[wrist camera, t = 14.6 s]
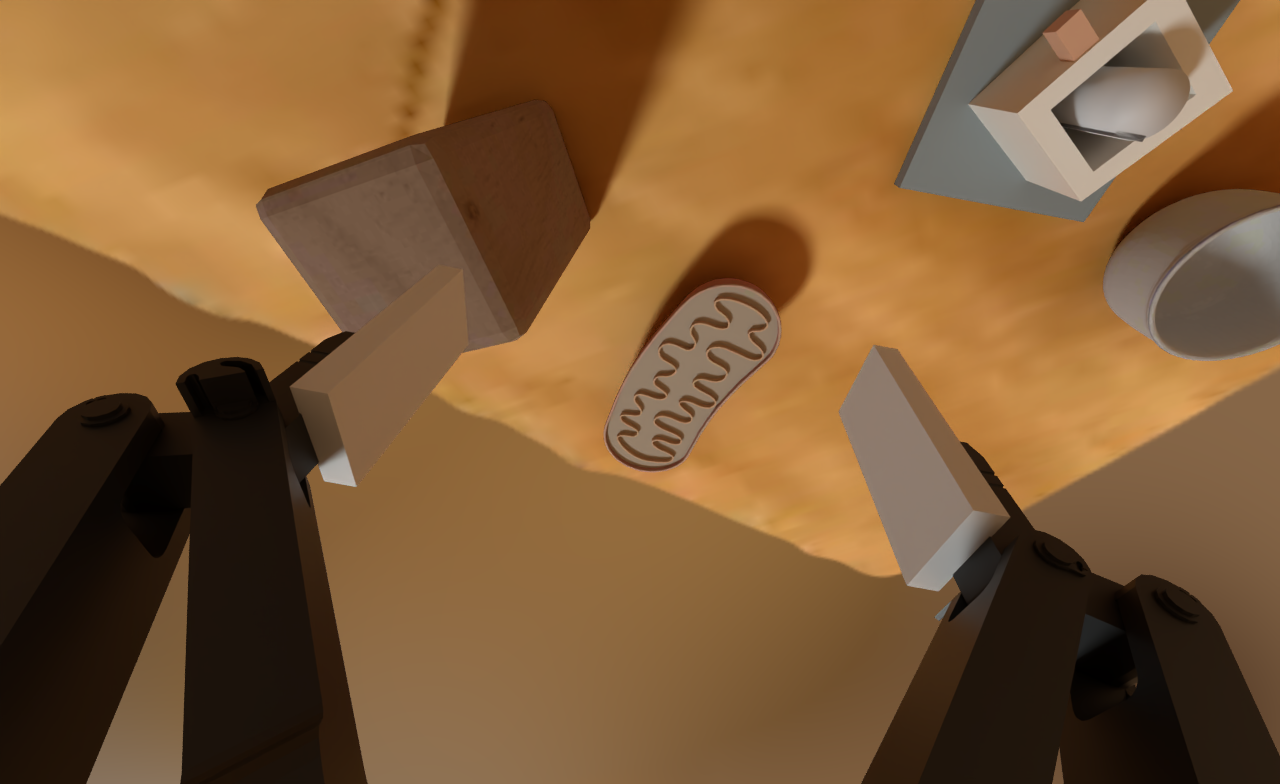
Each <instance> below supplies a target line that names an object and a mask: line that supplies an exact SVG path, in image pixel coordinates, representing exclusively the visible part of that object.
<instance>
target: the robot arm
mask: <svg viewBox="0 0 1280 784" xmlns="http://www.w3.org/2000/svg"><path fill="white" fill-rule="evenodd" d="M468 345H469V343H468V331H467V318H466V305H465V293H464V280H463V269H458V268H453V267H447V266H442V265H438V266H437V267H435V268H434V269H433V270H432V271H430V272H429V273H428V274H427V275H426V276H424V277H423V278H422V279H421V280H419V281H418V282H417V283H416V284H415V285H413V286H412V287H411V288H410V289H408V290H407V291H406V292H405V293H404V294H402V295H401V296H400V297H399V298H397V299H396V300H395V301H394V302H393V303H391V304H390V305H389V306H388V307H386V308H385V309H384V310H383V311H382V312H380V313H379V314H378V315H377V316H375V317H374V318H373V319H372V320H371V321H369V322H368V323H367V324H366V325H364V326H363V327H362V328H361V329H360V330H358V331H357V332H356V333H354V332H349V331H345V332H342V333H340V334H337V335H335V336H332V337H330V338H327V339H325V340H324V341H323V342H321V343H320V344H319V345H317V346H316V347H315V348H313V349H312V350H311V353H310V352H309V353H307V354H306V355H305V356H303V357H302V358H301V359H300V361H299V362H295V363H294V364H293V365H291V366H290V367H289V368H288V369H286V370H285V371H284V372H282V373H281V374H280V375H278V376H277V377H276V378H274V379H273V380H272V381H271V382H269V381H268V379H267V376H266V374H265V371H264V369H263V367H262V365H261V364H260V363H259V362H257V361H255V360H252V359H248V358H240V357H231V358H220V359H216V360H212V361H207V362H204V363H201V364H199V365H197V366H195V367H192V368H190V369H188V370H187V371H186V372H184V373H183V374H182V375H180V376H179V378H178V380H177V382H176V386H177V388H178V390H179V391H180V393H181V395H182V397H183V399H184V400H185V402H186V404H187V406H188V408H189V410H190V412H180V413H158V412H157V410H156V409H155V407H154V406H153V404H152V402H151V401H150V400H149V399H148V398H147V397H146V396H142V395H139V394H131V393H129V394H128V393H119V394H113V395H104V396H100V397H96V398H94V399H90V400H87V401H84V402H82V403H80V404H78V405H76V406H74V407H72V408H70V409H68V410H67V411H65V413H63V414H62V415H61V416H60V417H58V418H57V419H56V420H55V421H54V423H53V424H52V425H51V426H50V427H49V429H48V430H47V431H46V432H45V433H44V434H43V436H42V437H41V438H40V439H39V440H38V441H37V443H36V444H35V445H34V446H33V447H32V449H31V450H30V451H29V452H28V453H27V455H26V456H25V457H24V458H23V459H22V460H21V462H20V463H19V464H18V465H17V466H16V468H15V469H14V470H13V471H12V472H11V474H10V475H9V476H8V477H7V478H6V479H5V481H4V482H3V483H2V484H1V486H0V784H86V783H87V780H88V778H89V776H90V773H91V771H92V768H93V766H94V763H95V761H96V759H97V756H98V754H99V751H100V749H101V747H102V744H103V742H104V739H105V737H106V735H107V732H108V729H109V727H110V725H111V722H112V720H113V718H114V715H115V713H116V710H117V708H118V706H119V703H120V701H121V698H122V696H123V693H124V691H125V688H126V686H127V684H128V681H129V679H130V677H131V674H132V672H133V669H134V667H135V664H136V662H137V660H138V657H139V655H140V652H141V650H142V647H143V645H144V643H145V640H146V638H147V635H148V633H149V631H150V628H151V626H152V623H153V621H154V619H155V616H156V613H157V611H158V609H159V606H160V604H161V602H162V599H163V597H164V594H165V592H166V590H167V587H168V585H169V582H170V580H171V577H172V575H173V572H174V570H175V568H176V565H177V563H178V561H179V558H180V556H181V553H182V551H183V548H184V546H185V544H186V541H187V539H188V536H189V534H190V545H189V546H190V547H189V575H188V605H187V634H186V666H185V693H184V724H183V752H182V755H183V756H182V775H181V783H180V784H368V783H367V780H366V775H365V771H364V766H363V761H362V755H361V750H360V745H359V739H358V734H357V729H356V724H355V718H354V713H353V708H352V703H351V698H350V693H349V688H348V683H347V677H346V672H345V666H344V661H343V656H342V651H341V645H340V641H339V635H338V630H337V625H336V619H335V614H334V609H333V604H332V599H331V593H330V588H329V583H328V578H327V572H326V567H325V562H324V557H323V552H322V546H321V542H320V536H319V531H318V526H317V520H316V516H315V510H314V505H313V499H312V494H311V490H310V485H309V482H308V480H307V477H306V476H307V474H308V473H309V472H310V471H311V470H312V469H313V468H314V467H315V466H316V465H317V464H318V466H319V468H320V471H321V474H322V477H323V479H324V481H326V482H332V483H337V484H343V485H348V486H354V487H357V486H358V484H359V483H360V482H361V481H362V479H363V478H364V477H365V476H366V474H367V473H368V472H369V471H370V469H371V468H372V467H373V465H374V464H375V463H376V462H377V460H378V459H379V458H380V457H381V455H382V454H383V453H384V451H385V450H386V449H387V448H388V446H389V445H390V444H391V442H392V441H393V440H394V439H395V437H396V436H397V435H398V434H399V432H400V431H401V430H402V428H403V427H404V426H405V425H406V423H407V422H408V421H409V420H410V418H411V417H412V416H413V414H414V413H415V412H416V410H417V409H418V408H419V407H420V406H421V404H422V403H423V402H424V400H425V399H426V398H427V397H428V395H429V394H430V393H431V392H432V390H433V389H434V388H435V387H436V385H437V384H438V383H439V381H440V380H441V379H442V378H443V376H444V375H445V374H446V373H447V371H448V370H449V369H450V367H451V366H452V365H453V364H454V362H455V361H456V360H457V359H458V357H459V356H460V355H461V353H462V352H463V351H464V350H465V348H466V347H467V346H468ZM839 414H840V417H841V419H842V422H843V424H844V427H845V429H846V432H847V435H848V437H849V440H850V442H851V445H852V447H853V450H854V452H855V455H856V457H857V460H858V463H859V465H860V468H861V470H862V473H863V475H864V478H865V480H866V483H867V485H868V488H869V491H870V493H871V496H872V498H873V501H874V503H875V506H876V508H877V511H878V513H879V516H880V519H881V521H882V524H883V526H884V529H885V531H886V534H887V536H888V539H889V542H890V544H891V547H892V549H893V552H894V554H895V557H896V559H897V562H898V564H899V567H900V570H901V572H902V575H903V577H904V580H905V582H906V585H907V586H912V587H918V588H924V589H929V590H935V591H939V590H940V589H941V588H942V587H943V586H944V585H945V584H946V583H947V582H948V581H949V580H950V579H951V578H952V577H954V579H955V581H956V583H957V585H958V587H959V589H960V591H961V592H960V593H959V594H958V595H957V596H956V597H955V598H954V599H953V600H952V601H951V602H949V603H948V604H947V605H946V606H945V607H944V608H943V609H942V610H941V611H940V612H939V613H938V614H937V615H936V616H935V618H936V619H938V620H939V621H940V620H941V619H942V618H943V619H942V621H941V623H940V625H939V627H938V629H937V631H936V633H935V635H934V637H933V640H932V641H931V643H930V646H929V647H928V650H927V651H926V654H925V655H924V658H923V660H922V662H921V664H920V666H919V668H918V670H917V672H916V674H915V676H914V678H913V680H912V682H911V684H910V686H909V688H908V690H907V692H906V694H905V696H904V698H903V700H902V702H901V704H900V706H899V708H898V710H897V712H896V714H895V716H894V719H893V720H892V722H891V724H890V727H889V728H888V730H887V733H886V734H885V737H884V738H883V741H882V743H881V745H880V747H879V749H878V751H877V753H876V755H875V757H874V759H873V761H872V763H871V765H870V767H869V769H868V771H867V773H866V775H865V777H864V779H863V781H862V783H861V784H1052V781H1053V776H1054V771H1055V766H1056V761H1057V756H1058V750H1059V747H1060V755H1061V764H1062V772H1063V779H1064V784H1280V756H1279V753H1278V751H1277V749H1276V747H1275V745H1274V743H1273V740H1272V738H1271V736H1270V734H1269V732H1268V730H1267V727H1266V725H1265V723H1264V721H1263V719H1262V716H1261V714H1260V712H1259V710H1258V708H1257V706H1256V704H1255V701H1254V699H1253V697H1252V695H1251V693H1250V690H1249V688H1248V686H1247V684H1246V682H1245V679H1244V677H1243V675H1242V673H1241V671H1240V669H1239V666H1238V664H1237V662H1236V660H1235V658H1234V655H1233V654H1232V651H1231V649H1230V647H1229V645H1228V643H1227V640H1226V638H1225V636H1224V634H1223V631H1222V629H1221V627H1220V626H1219V624H1218V622H1217V621H1216V619H1215V618H1214V616H1213V615H1212V614H1211V613H1210V612H1209V611H1208V610H1207V609H1206V608H1205V607H1204V606H1203V605H1202V604H1201V602H1200V601H1199V600H1198V599H1197V598H1195V597H1194V596H1193V595H1190V594H1189V592H1187V591H1186V590H1184V589H1182V588H1181V587H1178V586H1176V585H1174V584H1172V583H1171V582H1169V581H1167V580H1164V579H1161V578H1158V577H1156V576H1153V575H1140V576H1138V577H1137V578H1135V579H1134V580H1132V581H1131V582H1130V583H1128V584H1127V585H1125V586H1123V585H1120V584H1118V583H1115V582H1113V581H1111V580H1108V579H1106V578H1103V577H1101V576H1099V575H1096V574H1094V573H1091V570H1090V568H1089V567H1088V565H1087V564H1086V562H1085V561H1084V559H1083V558H1082V557H1081V556H1079V554H1078V553H1077V552H1075V550H1074V549H1072V548H1071V547H1070V546H1068V545H1067V544H1065V543H1064V542H1062V541H1061V540H1060V539H1058V538H1056V537H1054V536H1051V535H1049V534H1047V533H1045V532H1041V531H1037V530H1035V529H1034V528H1033V526H1032V525H1031V524H1030V522H1029V521H1028V520H1027V518H1026V517H1025V515H1024V514H1023V512H1022V511H1021V509H1020V508H1019V507H1018V505H1017V504H1016V502H1015V501H1014V500H1013V498H1012V497H1011V495H1010V494H1009V493H1008V491H1007V490H1006V489H1005V488H1003V486H1004V485H1003V484H1002V483H1001V481H1000V480H999V478H998V477H997V476H994V471H993V470H992V468H991V467H990V466H989V464H988V463H987V461H986V460H985V459H984V457H983V456H981V455H980V454H979V453H978V452H977V451H976V450H974V449H973V448H972V447H971V446H970V445H969V444H968V443H965V442H960V441H959V440H958V438H957V437H956V435H955V434H954V432H953V431H952V429H951V428H950V427H949V425H948V424H947V422H946V421H945V419H944V418H943V416H942V415H941V413H940V412H939V410H938V409H937V407H936V406H935V404H934V403H933V401H932V400H931V398H930V397H929V395H928V394H927V392H926V391H925V389H924V388H923V386H922V385H921V383H920V382H919V381H918V379H917V378H916V376H915V375H914V373H913V372H912V370H911V369H910V367H909V366H908V364H907V363H906V361H905V360H904V358H903V357H902V355H901V354H900V352H899V351H898V349H894V348H888V347H883V346H877V345H873V347H872V349H871V351H870V353H869V355H868V356H867V358H866V360H865V362H864V364H863V366H862V368H861V370H860V372H859V374H858V376H857V378H856V380H855V381H854V383H853V385H852V387H851V389H850V391H849V393H848V395H847V397H846V399H845V401H844V403H843V404H842V406H841V408H840V410H839ZM1135 684H1137V687H1135Z"/></svg>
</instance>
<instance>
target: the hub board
mask: <svg viewBox="0 0 1280 784" xmlns="http://www.w3.org/2000/svg"><path fill="white" fill-rule="evenodd" d="M1079 1H1080V0H976V1H975V4H974V6H973V8H972V10H971V13H970V15H969V17H968V19H967V22H966V24H965V26H964V28H963V31H962V33H961V35H960V37H959V40H958V42H957V44H956V46H955V49H954V51H953V53H952V55H951V58H950V60H949V62H948V64H947V67H946V69H945V71H944V73H943V76H942V78H941V80H940V82H939V85H938V87H937V89H936V91H935V94H934V96H933V98H932V100H931V102H930V105H929V107H928V109H927V111H926V114H925V116H924V118H923V120H922V123H921V125H920V127H919V129H918V132H917V134H916V136H915V138H914V141H913V143H912V145H911V147H910V150H909V152H908V154H907V156H906V159H905V161H904V163H903V165H902V168H901V170H900V172H899V174H898V177H897V179H896V181H895V183H894V184H895V185H896V186H898V187H899V188H904V189H909V190H915V191H920V192H926V193H931V194H936V195H942V196H947V197H952V198H958V199H963V200H968V201H974V202H979V203H984V204H990V205H995V206H1001V207H1006V208H1011V209H1017V210H1022V211H1027V212H1033V213H1038V214H1043V215H1049V216H1054V217H1059V218H1065V219H1070V220H1076V221H1081V222H1084V221H1085V220H1086V218H1087V217H1088V215H1089V214H1090V213H1091V211H1092V210H1093V208H1094V207H1095V205H1096V204H1097V203H1098V201H1099V200H1100V198H1101V197H1102V195H1103V194H1104V193H1105V191H1106V190H1107V188H1108V187H1109V186H1110V184H1111V183H1112V181H1113V180H1114V178H1115V177H1114V178H1113V179H1111V180H1110V181H1109V182H1107V183H1106V184H1105V185H1103V186H1102V187H1100V188H1099V189H1098V190H1096V191H1095V192H1094V193H1092V194H1091V195H1089V196H1088V197H1087V198H1085V199H1084V200H1083V201H1078V200H1076V199H1073V198H1070V197H1068V196H1065V195H1063V194H1060V193H1058V192H1055V191H1052V190H1050V189H1047V188H1045V187H1042V186H1039V185H1037V184H1034V183H1032V182H1029V181H1027V180H1025V178H1024V177H1023V176H1022V174H1021V173H1020V172H1019V170H1018V169H1017V168H1016V166H1015V165H1014V164H1013V163H1012V161H1011V160H1010V159H1009V157H1008V156H1007V155H1006V153H1005V152H1004V151H1003V149H1002V148H1001V147H1000V145H999V144H998V143H997V142H996V140H995V139H994V138H993V136H992V135H991V134H990V132H989V131H988V130H987V128H986V127H985V126H984V124H983V123H982V122H981V121H980V119H979V118H978V117H977V115H976V114H975V113H974V111H973V110H972V109H971V107H970V106H969V105H968V104H969V103H970V102H971V101H972V100H973V99H974V98H975V97H976V96H977V95H978V94H979V93H981V92H982V91H983V90H984V89H985V88H986V87H987V86H988V85H989V84H990V83H991V82H992V81H993V80H995V79H996V78H997V77H998V76H999V75H1000V74H1001V73H1002V72H1003V71H1004V70H1005V69H1006V68H1008V67H1009V66H1010V65H1011V64H1012V63H1013V62H1014V61H1015V60H1016V59H1017V58H1018V57H1019V56H1020V55H1022V54H1023V53H1024V52H1025V51H1026V50H1027V49H1028V48H1029V47H1030V46H1031V45H1032V44H1033V43H1034V42H1036V41H1037V40H1038V39H1039V38H1040V37H1041V36H1042V35H1043V32H1044V31H1045V30H1046V29H1047V28H1048V27H1049V26H1050V25H1051V24H1052V23H1053V22H1054V21H1055V20H1057V19H1058V18H1059V17H1060V16H1061V15H1062V14H1063V13H1064V12H1065V11H1067V10H1070V9H1071V8H1072V7H1073V6H1074V5H1075V4H1077V3H1078V2H1079ZM1239 1H1240V0H1186V2H1187V4H1188V6H1189V7H1190V9H1191V11H1192V13H1193V15H1194V17H1195V19H1196V21H1197V23H1198V25H1199V27H1200V28H1201V30H1202V32H1203V34H1204V36H1205V38H1206V40H1207V42H1208V44H1210V42H1211V41H1212V39H1213V38H1214V37H1215V35H1216V34H1217V32H1218V31H1219V29H1220V28H1221V27H1222V25H1223V24H1224V22H1225V21H1226V19H1227V18H1228V17H1229V15H1230V14H1231V12H1232V11H1233V10H1234V8H1235V7H1236V5H1237V4H1238V2H1239ZM1189 93H1190V81H1189V78H1188V76H1187V75H1186V74H1185V73H1184V72H1183V71H1181V70H1178V69H1171V68H1140V67H1110V66H1102V67H1101V68H1100V69H1098V70H1097V71H1096V72H1095V73H1094V74H1093V75H1091V76H1090V77H1089V78H1088V79H1087V80H1085V81H1084V82H1083V83H1082V84H1081V85H1079V86H1078V87H1077V88H1076V89H1075V90H1074V91H1072V92H1071V93H1070V94H1069V95H1068V96H1066V97H1065V98H1064V99H1063V100H1062V101H1061V102H1059V103H1058V104H1057V105H1056V106H1055V107H1053V108H1052V109H1051V111H1052V113H1053V114H1054V116H1055V117H1056V119H1057V120H1058V121H1059V123H1060V124H1061V126H1062V127H1063V129H1064V130H1065V129H1067V128H1068V129H1073V130H1078V131H1083V132H1088V133H1093V134H1098V135H1103V136H1108V137H1112V138H1117V139H1122V140H1127V141H1139V142H1143V140H1144V139H1145V138H1148V137H1150V136H1152V135H1154V134H1156V133H1158V132H1160V131H1161V130H1162V129H1164V128H1165V127H1166V126H1168V125H1169V124H1170V123H1171V122H1172V121H1173V120H1174V119H1175V118H1176V117H1177V116H1178V114H1179V113H1180V112H1181V110H1182V109H1183V107H1184V106H1185V104H1186V102H1187V99H1188V97H1189Z"/></svg>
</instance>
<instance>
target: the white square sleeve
mask: <svg viewBox="0 0 1280 784" xmlns="http://www.w3.org/2000/svg"><path fill="white" fill-rule="evenodd" d="M1102 66H1110V67H1140V68H1171V69H1178V70H1181V71H1183V72H1184V73H1185V74H1186V75H1187V76H1188V78H1189V81H1190V93H1189V97H1188V99H1187V102H1186V104H1185V106H1184V107H1183V109H1182V110H1181V112H1180V113H1179V114H1178V116H1177V117H1176V118H1175V119H1174V120H1173V121H1172V122H1171V123H1170V124H1169V125H1168V126H1166V127H1165V128H1164V129H1162V130H1161V131H1160V132H1158V133H1156V134H1154V135H1152V136H1150V137H1148V138H1145V139H1144V140H1143V142H1139V141H1127V140H1122V139H1117V138H1112V137H1108V136H1103V135H1098V134H1093V133H1088V132H1083V131H1078V130H1073V129H1068V128H1067V129H1065V130H1064V129H1063V127H1062V126H1061V124H1060V123H1059V121H1058V120H1057V119H1056V117H1055V116H1054V114H1053V113H1052V111H1051V109H1052V108H1053V107H1055V106H1056V105H1057V104H1058V103H1059V102H1061V101H1062V100H1063V99H1064V98H1065V97H1066V96H1068V95H1069V94H1070V93H1071V92H1072V91H1074V90H1075V89H1076V88H1077V87H1078V86H1079V85H1081V84H1082V83H1083V82H1084V81H1085V80H1087V79H1088V78H1089V77H1090V76H1091V75H1093V74H1094V73H1095V72H1096V71H1097V70H1098V69H1100V68H1101V67H1102ZM1232 91H1233V90H1232V88H1231V86H1230V84H1229V82H1228V80H1227V78H1226V76H1225V74H1224V72H1223V71H1222V69H1221V67H1220V65H1219V63H1218V61H1217V59H1216V57H1215V55H1214V53H1213V51H1212V49H1211V48H1210V46H1209V44H1208V42H1207V40H1206V38H1205V36H1204V34H1203V32H1202V30H1201V28H1200V27H1199V25H1198V23H1197V21H1196V19H1195V17H1194V15H1193V13H1192V11H1191V9H1190V7H1189V6H1188V4H1187V2H1186V0H1080V1H1079V2H1078V3H1077V4H1075V5H1074V6H1073V7H1072V8H1071V9H1070V10H1067V11H1065V12H1064V13H1063V14H1062V15H1061V16H1060V17H1059V18H1058V19H1057V20H1055V21H1054V22H1053V23H1052V24H1051V25H1050V26H1049V27H1048V28H1047V29H1046V30H1045V31H1044V32H1043V35H1042V36H1041V37H1040V38H1039V39H1038V40H1037V41H1036V42H1034V43H1033V44H1032V45H1031V46H1030V47H1029V48H1028V49H1027V50H1026V51H1025V52H1024V53H1023V54H1022V55H1020V56H1019V57H1018V58H1017V59H1016V60H1015V61H1014V62H1013V63H1012V64H1011V65H1010V66H1009V67H1008V68H1006V69H1005V70H1004V71H1003V72H1002V73H1001V74H1000V75H999V76H998V77H997V78H996V79H995V80H993V81H992V82H991V83H990V84H989V85H988V86H987V87H986V88H985V89H984V90H983V91H982V92H981V93H979V94H978V95H977V96H976V97H975V98H974V99H973V100H972V101H971V102H970V103H969V104H968V105H969V106H970V107H971V109H972V110H973V111H974V113H975V114H976V115H977V117H978V118H979V119H980V121H981V122H982V123H983V124H984V126H985V127H986V128H987V130H988V131H989V132H990V134H991V135H992V136H993V138H994V139H995V140H996V142H997V143H998V144H999V145H1000V147H1001V148H1002V149H1003V151H1004V152H1005V153H1006V155H1007V156H1008V157H1009V159H1010V160H1011V161H1012V163H1013V164H1014V165H1015V166H1016V168H1017V169H1018V170H1019V172H1020V173H1021V174H1022V176H1023V177H1024V178H1025V180H1027V181H1029V182H1032V183H1034V184H1037V185H1039V186H1042V187H1045V188H1047V189H1050V190H1052V191H1055V192H1058V193H1060V194H1063V195H1065V196H1068V197H1070V198H1073V199H1076V200H1078V201H1083V200H1084V199H1085V198H1087V197H1088V196H1089V195H1091V194H1092V193H1094V192H1095V191H1096V190H1098V189H1099V188H1100V187H1102V186H1103V185H1105V184H1106V183H1107V182H1109V181H1110V180H1111V179H1113V178H1114V177H1116V176H1117V175H1118V174H1120V173H1121V172H1122V171H1124V170H1125V169H1127V168H1128V167H1129V166H1131V165H1132V164H1133V163H1135V162H1136V161H1137V160H1139V159H1140V158H1142V157H1143V156H1144V155H1146V154H1147V153H1148V152H1150V151H1151V150H1153V149H1154V148H1155V147H1157V146H1158V145H1159V144H1161V143H1162V142H1164V141H1165V140H1166V139H1168V138H1169V137H1170V136H1172V135H1173V134H1175V133H1176V132H1177V131H1179V130H1180V129H1181V128H1183V127H1184V126H1186V125H1187V124H1188V123H1190V122H1191V121H1192V120H1194V119H1195V118H1197V117H1198V116H1199V115H1201V114H1202V113H1203V112H1205V111H1206V110H1207V109H1209V108H1210V107H1212V106H1213V105H1214V104H1216V103H1217V102H1218V101H1220V100H1221V99H1223V98H1224V97H1225V96H1227V95H1228V94H1229V93H1231V92H1232Z"/></svg>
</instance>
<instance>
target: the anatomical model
mask: <svg viewBox="0 0 1280 784" xmlns="http://www.w3.org/2000/svg"><path fill="white" fill-rule="evenodd" d="M780 338H781V320H780V317H779V314H778V312H777V310H776V307H775V305H774V304H773V302H772V300H771V299H770V298H769V297H768V295H767V294H766V293H765V292H764V291H762V290H761V289H760V288H758V287H757V286H755V285H754V284H752V283H749V282H747V281H744V280H740V279H735V278H722V279H715V280H712V281H709V282H706V283H704V284H702V285H701V286H699V287H697V288H696V289H695V290H693V291H692V292H691V293H689V294H688V295H687V297H686V298H685V299H684V300H683V301H682V302H681V303H680V304H679V306H678V307H677V308H676V309H675V310H674V311H673V312H672V314H671V315H670V316H669V317H668V318H667V319H666V320H665V321H664V323H663V324H662V325H661V326H660V327H659V328H658V329H657V331H656V332H655V333H654V335H653V336H652V337H651V338H650V340H649V341H648V342H647V343H646V345H645V346H644V347H643V349H642V350H641V352H640V354H639V355H638V357H637V358H636V360H635V361H634V363H633V365H632V367H631V368H630V370H629V372H628V374H627V376H626V377H625V379H624V381H623V383H622V386H621V388H620V390H619V392H618V394H617V396H616V398H615V401H614V403H613V406H612V409H611V411H610V414H609V416H608V419H607V421H606V424H605V428H604V441H605V445H606V447H607V449H608V451H609V452H610V454H611V455H612V456H613V457H614V458H615V459H616V460H617V461H619V462H620V463H622V464H623V465H625V466H627V467H629V468H632V469H635V470H638V471H644V472H660V471H667V470H669V469H672V468H675V467H677V466H679V465H680V464H681V463H683V462H684V461H685V460H686V459H687V457H688V456H689V454H690V452H691V451H692V449H693V447H694V445H695V444H696V442H697V440H698V438H699V437H700V435H701V433H702V432H703V430H704V429H705V427H706V426H707V424H708V423H709V421H710V420H711V419H712V417H713V416H714V415H715V414H716V412H717V411H718V410H719V409H720V407H721V406H722V405H723V404H724V403H725V402H726V401H727V399H728V398H729V397H730V396H731V395H732V394H733V393H734V392H735V391H736V390H737V389H738V388H739V387H740V386H741V385H742V384H743V383H744V382H745V381H747V380H748V379H749V378H750V377H751V376H752V375H753V374H754V373H755V372H757V371H758V370H759V369H760V368H761V367H762V366H763V365H764V364H765V363H767V362H768V361H769V360H770V359H771V358H772V357H773V355H774V353H775V351H776V350H777V348H778V346H779V342H780Z"/></svg>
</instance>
